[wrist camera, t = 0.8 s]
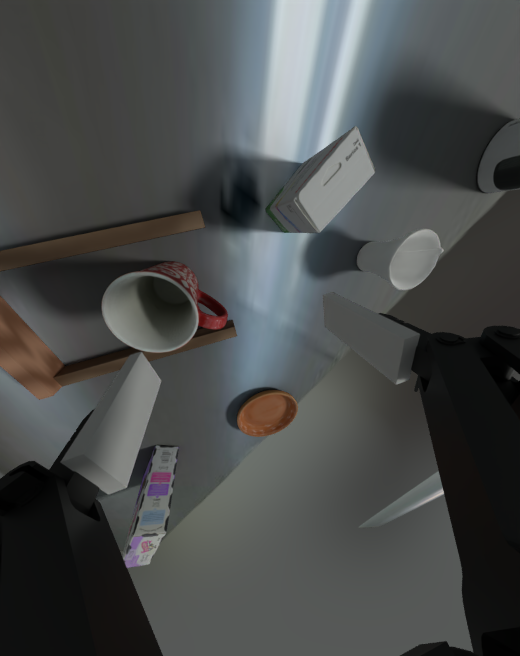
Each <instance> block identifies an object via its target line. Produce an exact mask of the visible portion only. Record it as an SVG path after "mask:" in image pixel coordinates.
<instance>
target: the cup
mask: <svg viewBox="0 0 520 656" xmlns="http://www.w3.org/2000/svg"><path fill="white" fill-rule="evenodd" d="M442 252H443V249H442V248H441V247H440V241H439V238H438V235H437V234H436V233H434V232H433V231H432V230H429V229H419V230H415V231H413V232H411V233H408V234H407V235H405V236H403V237H401V238H397V239H393V240H391V241H380V242H377V241H373V242H369V243H367V244H365V245H364V246H363V247H362V248H361V249H360V251H359V253H358V255H357V266H358V267H359V269H360V270H361V271H365V272H371V273H374V274H376V275H378V276H380V277H381V278H383V279H385V280H387V281H388V283H389V284H390V285H392V286H393V287H394V288H395V289H398V290H408V289H411V288H413V287H415V286H417V285H418V284H420V283H421V282H422V281H423V280H424V279H425V278H426V277H427V276H428V275H429V274H430V272H431V271H432V269H433V268H434V266H435V264H436V262H437V259H438V257H439V255H440V254H441V253H442Z"/></svg>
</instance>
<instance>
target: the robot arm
mask: <svg viewBox="0 0 520 656" xmlns="http://www.w3.org/2000/svg"><path fill="white" fill-rule="evenodd" d="M323 305H324V322H325V327H326V328H327V329H328V330H329V331H331V332H332V333H333V334H334V335H335V336H337V337H338V338H339V339H340V340H342V341H343V342H344V343H345V344H347V345H348V346H349V347H350V348H351V349H353V350H354V351H355V352H356V353H358V354H359V355H360V356H362V357H363V358H364V359H365V360H366V361H367V362H369V363H370V364H371V365H373V366H374V367H375V368H376V369H377V370H379V371H380V372H381V373H383V374H384V375H385V376H386V377H387V378H388V379H390V380H391V381H392V382H393V383H395V384H399V383H402V382H404V381H407V380H409V379H410V374H411V370H412V371H413V372H415V373H416V374H418V378H417V381H416V385H415V392H417V391H418V388H419V390H420V394H421V398H422V402H423V407H424V411H425V415H426V419H427V423H428V428H429V431H430V436H431V440H432V444H433V449H434V453H435V457H436V461H437V465H438V470H439V474H440V478H441V482H442V486H443V490H444V495H445V499H446V503H447V507H448V511H449V515H450V520H451V524H452V528H453V532H454V536H455V540H456V545H457V549H458V553H459V557H460V561H461V567H462V575H463V578H462V597H463V605H464V610H465V616H466V620H467V625H468V629H469V634H470V638H471V643H472V647H473V652H474V653H473V652H471V651H467V650H464V649H460V648H456V647H449V645H448V643H447V642H446V641H444V642H437V643H428V644H421V645H418V646H416V647H415V648H413V649H411V650H409V651H407V652H406V653H404V654H402V655H400V656H520V381H518V380H516V379H515V378H514V377H512V375H513V374H514V372H515V371H517V372H518V373H519V374H520V329H517V328H514V327H507V326H490V327H487V328H485V329H484V330H483V333H482V335H481V337H475V338H464V337H462V336H459V335H456V334H452V333H445V332H439V333H433V334H430V333H428V332H426V331H424V330H422V329H419V328H417V327H415V326H413V325H411V324H408V323H405V322H404V321H402V320H399V319H397V318H395V317H393V316H391V315H387V314H382V313H379V314H377V313H375V312H373V311H371V310H369V309H367V308H365V307H363V306H361V305H359V304H357V303H355V302H352V301H350V300H348V299H346V298H344V297H342V296H340V295H338V294H336V293H334V292H330V293H327V294H324V295H323ZM160 384H161V380H160V378H159V377H158V375H157V374H156V372H155V371H154V369H153V368H152V366H151V365H150V363H149V362H148V360H147V359H146V357H145V356H144V354H143V353H142V352H139V353H135V354H132V355H130V356H129V357H128V359H127V360H126V362H125V363H124V365H123V366H122V368H121V370H120V371H119V373H118V374H117V376H116V377H115V379H114V380H113V382H112V383H111V385H110V386H109V388H108V390H107V391H106V393H105V394H104V396H103V397H102V399H101V400H100V402H99V403H98V405H97V406H96V408H95V409H94V410H92V411H91V412H90V413H89V414H88V415H87V416H86V417H85V418H84V419H83V421H82V422H81V424H80V425H79V427H78V428H77V429H76V432H74V434H73V435H72V437H71V438H70V439H71V440H70V441H68V443H67V444H66V446H65V447H64V449H63V450H62V452H61V453H60V455H59V456H58V458H57V459H56V461H55V462H54V464H53V465H52V467H51V468H50V469H49V470H48V469H46V468H45V467H43V466H42V465H40V464H38V463H37V462H35V461H28V462H26V463H24V464H21V465H19V466H18V467H16V468H14V469H13V470H11V471H10V472H8V473H7V474H6V475H5V476H3V477H2V478H1V479H0V656H163V655H162V652H161V650H160V647H159V645H158V643H157V640H156V638H155V635H154V633H153V630H152V628H151V625H150V623H149V621H148V618H147V616H146V613H145V611H144V608H143V606H142V604H141V601H140V599H139V596H138V594H137V591H136V589H135V586H134V584H133V582H132V579H131V577H130V574H129V572H128V569H127V567H126V565H125V562H124V560H123V557H122V555H121V552H120V550H119V548H118V545H117V543H116V540H115V538H114V535H113V533H112V530H111V528H110V526H109V523H108V521H107V518H106V516H105V513H104V511H103V509H102V506H101V504H100V502H99V501H98V500H96V499H95V498H96V496H97V493H98V491H99V489H101V490H102V491H104V492H105V493H106V494H108V495H109V494H112V493H114V492H117V491H120V490H122V489H125V488H127V486H128V483H129V480H130V477H131V474H132V470H133V467H134V464H135V461H136V458H137V455H138V452H139V449H140V446H141V443H142V439H143V436H144V433H145V430H146V427H147V424H148V421H149V418H150V415H151V412H152V408H153V405H154V402H155V399H156V396H157V393H158V390H159V387H160Z"/></svg>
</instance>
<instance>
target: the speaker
mask: <svg viewBox="0 0 520 656" xmlns="http://www.w3.org/2000/svg"><path fill="white" fill-rule="evenodd" d="M477 184H478V187H479V189H480V190H481V191H483V192H485V193H494V192H501V191H508V190H515V189H520V118H519V119H516V120H513V121H511V122H509V123H507V124H506V125H505V126H503V127H502V128H501V129H500V130H499V132H498V133H497V134H496V135H495V136H494V137H493V138H492V140H491V141H490V143H489V144H488V146H487V147H486V149H485V151H484V153H483V155H482V158H481V160H480V163H479V167H478V171H477Z"/></svg>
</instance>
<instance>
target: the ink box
mask: <svg viewBox="0 0 520 656" xmlns="http://www.w3.org/2000/svg"><path fill="white" fill-rule="evenodd" d="M374 173H375V168H374V166H373V163H372V161H371V159H370V156H369V154H368V151H367V149H366V146H365V144H364V142H363V139H362V137H361V135H360V132H359V130H358V128H357V127H356V126H355V127H353V128H352V129H351V130H349V131H348V132H347V133H345V134H344V135H342V136H341V137H340V138H338V139H337V140H335V141H334V142H332V143H331V144H330V145H328V146H327V147H326V148H324V149H323V150H321V151H320V152H318V153H317V154H316V155H314V156H313V157H311V158H310V159H308V160H307V161H305V162H304V163H303V164H302V165H301V166H300V167H299V168H298V170H297V171H296V172H295V173H294V175H293V176H292V177H291V178H290V179H289V181H288V182H287V183H286V184H285V186H284V187H283V188H282V189H281V191H280V192H279V193H278V194H277V195H276V197H275V198H274V199H273V200H272V202H271V203H270V204H269V205H268V207H267V208H266V212H267V213H268V215H269V216H270V217H271V218H272V219H273V220H274V222H275V223H276V224H277V225H278V226H279V228H280V229H281V230H282V231H283V232H284V233H320V232H321V231H322V230H323V229H324V228H325V227H326V225H327V224H328V223H329V222H330V221H331V220H332V219H333V218H334V217H335V216H336V215H337V214H338V212H339V211H340V210H341V209H342V208H343V207H344V206H345V205H346V204H347V203H348V202H349V201H350V199H351V198H352V197H353V196H354V195H355V194H356V193H357V192H358V191H359V190H360V189H361V187H362V186H363V185H364V184H365V183H366V182H367V181H368V180H369V179H370V177H371V176H372V175H373V174H374Z"/></svg>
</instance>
